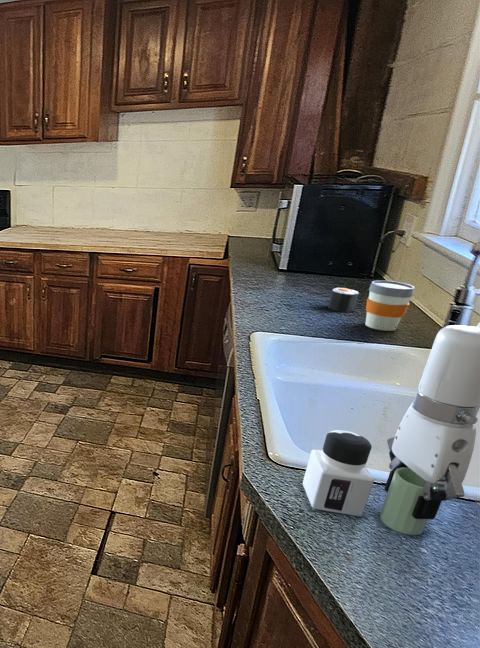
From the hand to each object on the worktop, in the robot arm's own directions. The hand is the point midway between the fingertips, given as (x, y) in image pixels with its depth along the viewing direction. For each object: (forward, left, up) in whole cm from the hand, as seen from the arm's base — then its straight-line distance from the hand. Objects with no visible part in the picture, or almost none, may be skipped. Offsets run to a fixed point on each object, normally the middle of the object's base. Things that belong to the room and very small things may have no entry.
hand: (408, 503), depth 87 cm
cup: (0, 0, -4) cm, 4 cm away
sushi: (-61, -127, -4) cm, 141 cm away
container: (+9, -6, -4) cm, 11 cm away
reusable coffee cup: (-63, -106, -4) cm, 124 cm away
